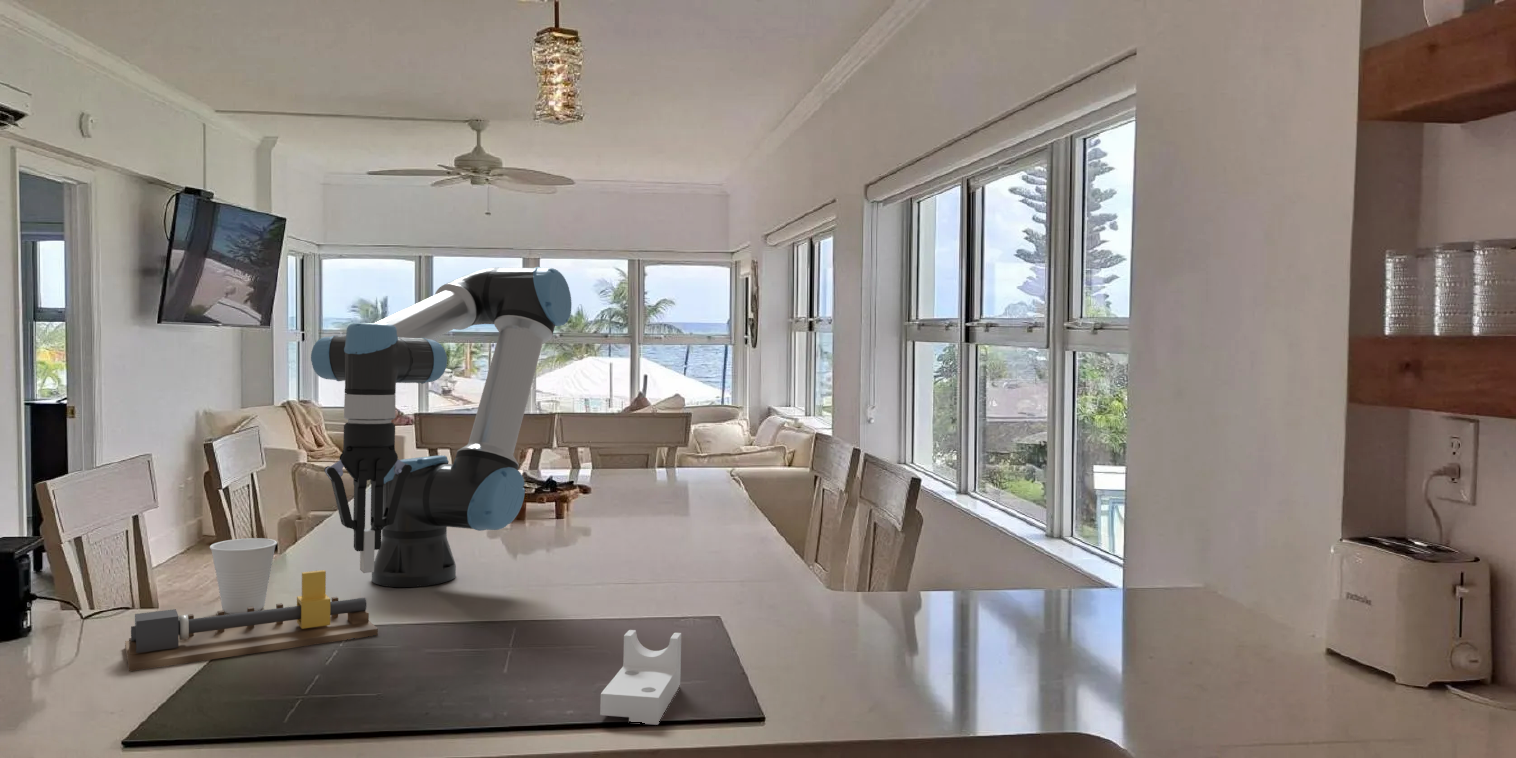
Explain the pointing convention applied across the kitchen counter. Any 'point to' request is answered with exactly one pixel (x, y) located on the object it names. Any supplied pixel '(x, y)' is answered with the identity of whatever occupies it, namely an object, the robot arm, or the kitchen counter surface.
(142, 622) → the connector
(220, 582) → the cup
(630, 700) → the bracket
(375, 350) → the robot arm
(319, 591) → the sleeve
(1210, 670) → the kitchen counter surface
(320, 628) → the comb board
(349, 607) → the cord
